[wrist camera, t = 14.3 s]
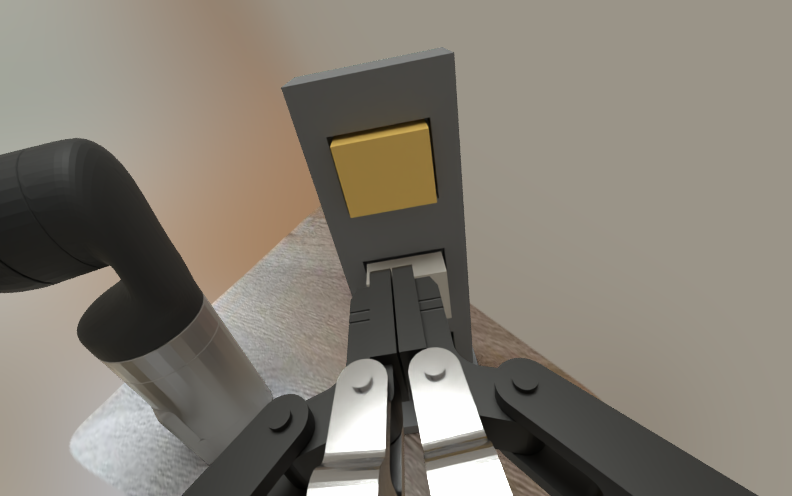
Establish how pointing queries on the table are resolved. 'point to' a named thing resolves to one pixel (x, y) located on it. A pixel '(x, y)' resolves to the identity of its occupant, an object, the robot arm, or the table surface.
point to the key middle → (421, 272)
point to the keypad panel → (405, 228)
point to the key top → (385, 168)
